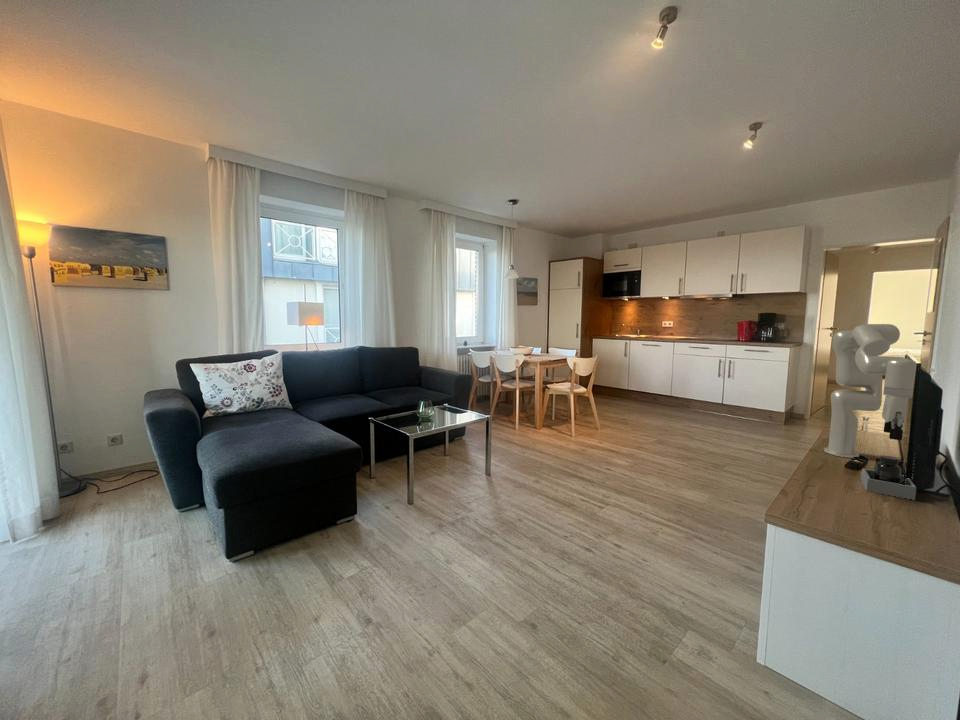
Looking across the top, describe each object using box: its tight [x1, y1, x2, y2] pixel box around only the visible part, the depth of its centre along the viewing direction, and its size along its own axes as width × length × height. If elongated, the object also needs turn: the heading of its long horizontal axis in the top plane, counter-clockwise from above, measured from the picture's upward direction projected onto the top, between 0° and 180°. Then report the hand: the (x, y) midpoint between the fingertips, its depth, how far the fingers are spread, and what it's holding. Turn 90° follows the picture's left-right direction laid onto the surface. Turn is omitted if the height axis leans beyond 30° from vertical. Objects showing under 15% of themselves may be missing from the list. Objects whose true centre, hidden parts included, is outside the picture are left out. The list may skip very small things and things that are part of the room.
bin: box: [860, 468, 917, 501], centre depth 150 cm, size 13×13×5 cm
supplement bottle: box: [874, 455, 902, 484], centre depth 149 cm, size 7×7×12 cm
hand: (892, 435), depth 148 cm, fingers open, 9 cm apart
